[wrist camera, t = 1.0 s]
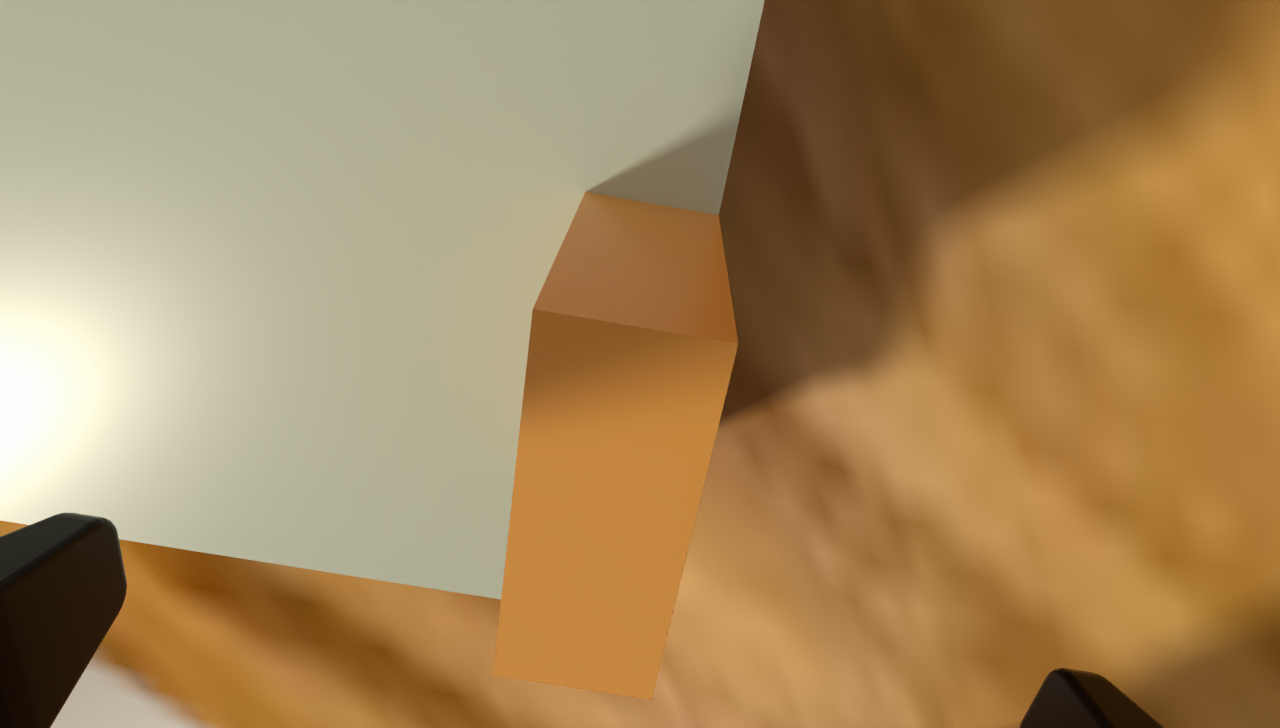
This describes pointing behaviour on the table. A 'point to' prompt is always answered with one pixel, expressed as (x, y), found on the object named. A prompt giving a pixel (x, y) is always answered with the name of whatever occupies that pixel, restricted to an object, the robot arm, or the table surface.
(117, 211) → the lid
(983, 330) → the table surface
